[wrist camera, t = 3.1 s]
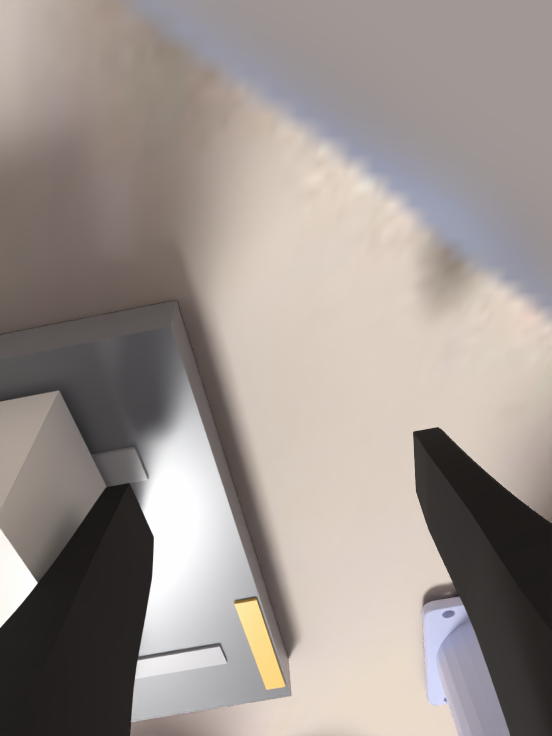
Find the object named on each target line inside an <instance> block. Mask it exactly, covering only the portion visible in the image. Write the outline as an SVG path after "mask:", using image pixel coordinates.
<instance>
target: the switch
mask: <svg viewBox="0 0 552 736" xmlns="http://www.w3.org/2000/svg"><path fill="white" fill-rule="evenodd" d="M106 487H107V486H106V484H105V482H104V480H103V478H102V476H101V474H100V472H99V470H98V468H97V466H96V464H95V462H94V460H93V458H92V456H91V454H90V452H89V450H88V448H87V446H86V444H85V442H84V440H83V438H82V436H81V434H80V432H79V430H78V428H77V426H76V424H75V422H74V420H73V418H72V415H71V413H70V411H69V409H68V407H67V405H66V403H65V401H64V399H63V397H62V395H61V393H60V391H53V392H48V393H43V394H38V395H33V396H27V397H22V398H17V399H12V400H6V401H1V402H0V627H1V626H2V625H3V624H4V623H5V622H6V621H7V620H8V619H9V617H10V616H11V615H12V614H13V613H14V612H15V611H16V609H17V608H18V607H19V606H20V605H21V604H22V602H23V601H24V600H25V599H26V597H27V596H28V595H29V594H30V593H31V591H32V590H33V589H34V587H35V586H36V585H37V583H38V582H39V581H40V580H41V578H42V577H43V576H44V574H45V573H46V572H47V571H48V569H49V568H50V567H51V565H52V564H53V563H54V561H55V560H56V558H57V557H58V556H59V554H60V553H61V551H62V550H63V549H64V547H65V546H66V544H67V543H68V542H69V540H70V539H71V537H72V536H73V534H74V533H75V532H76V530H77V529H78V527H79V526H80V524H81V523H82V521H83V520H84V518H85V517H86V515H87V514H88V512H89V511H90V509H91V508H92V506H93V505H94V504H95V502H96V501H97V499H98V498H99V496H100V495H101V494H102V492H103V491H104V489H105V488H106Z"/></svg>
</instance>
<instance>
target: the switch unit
mask: <svg viewBox="0 0 552 736" xmlns="http://www.w3.org/2000/svg"><path fill="white" fill-rule="evenodd" d="M53 391H60V393H61V395H62V397H63V399H64V401H65V403H66V405H67V407H68V409H69V411H70V413H71V415H72V418H73V420H74V422H75V424H76V426H77V428H78V430H79V432H80V434H81V436H82V438H83V440H84V442H85V444H86V446H87V448H88V450H89V452H90V454H91V456H92V458H93V460H94V462H95V464H96V466H97V468H98V470H99V472H100V474H101V476H102V478H103V480H104V482H105V484H106V486H107V487H109V486H115V485H121V484H126V483H130V485H131V487H132V489H133V491H134V494H135V496H136V498H137V500H138V503H139V505H140V507H141V509H142V511H143V514H144V516H145V518H146V520H147V522H148V525H149V527H150V529H151V531H152V533H153V536H154V556H153V574H152V582H151V588H150V594H149V600H148V605H147V611H146V617H145V622H144V628H143V633H142V639H141V645H140V650H139V656H138V662H137V667H136V675H135V682H134V691H133V703H132V716H131V722H136V721H142V720H148V719H154V718H160V717H166V716H172V715H178V714H184V713H191V712H197V711H203V710H209V709H215V708H221V707H227V706H233V705H239V704H245V703H251V702H257V701H263V700H269V699H275V698H281V697H287V696H292V695H291V683H290V672H289V660H288V657H287V654H286V651H285V648H284V644H283V641H282V638H281V635H280V631H279V628H278V625H277V622H276V619H275V615H274V612H273V609H272V606H271V603H270V599H269V596H268V593H267V590H266V586H265V583H264V580H263V577H262V574H261V570H260V567H259V564H258V561H257V557H256V554H255V551H254V548H253V545H252V541H251V538H250V535H249V532H248V529H247V525H246V522H245V519H244V516H243V512H242V509H241V506H240V503H239V500H238V496H237V493H236V490H235V487H234V483H233V480H232V477H231V474H230V471H229V467H228V464H227V461H226V458H225V455H224V451H223V448H222V445H221V442H220V438H219V435H218V432H217V429H216V426H215V422H214V419H213V416H212V413H211V409H210V406H209V403H208V400H207V397H206V393H205V390H204V387H203V384H202V381H201V377H200V374H199V371H198V368H197V364H196V361H195V358H194V355H193V352H192V348H191V345H190V342H189V339H188V335H187V332H186V329H185V326H184V323H183V319H182V316H181V313H180V310H179V307H178V303H177V300H174V301H169V302H164V303H159V304H154V305H149V306H144V307H139V308H134V309H129V310H123V311H118V312H113V313H108V314H103V315H98V316H93V317H88V318H83V319H78V320H73V321H67V322H62V323H57V324H52V325H47V326H42V327H37V328H32V329H27V330H22V331H16V332H11V333H6V334H1V335H0V402H1V401H6V400H12V399H17V398H22V397H27V396H33V395H38V394H43V393H48V392H53Z"/></svg>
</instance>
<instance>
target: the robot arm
mask: <svg viewBox="0 0 552 736" xmlns="http://www.w3.org/2000/svg"><path fill="white" fill-rule="evenodd" d="M413 438H414V460H415V481H416V493H417V496H418V499H419V502H420V505H421V508H422V511H423V514H424V517H425V520H426V523H427V526H428V529H429V531H430V534H431V536H432V538H433V540H434V542H435V545H436V547H437V549H438V551H439V553H440V556H441V558H442V560H443V562H444V564H445V566H446V569H447V571H448V573H449V575H450V577H451V579H452V582H453V584H454V586H455V588H456V590H457V592H458V595H459V597H453V598H447V599H441V600H435V601H431V602H428V603H426V604H425V605H424V606H423V607H422V626H423V645H424V664H425V682H426V696H427V699H428V702H429V703H430V704H431V705H444V704H448V705H449V709H450V712H451V715H452V718H453V721H454V724H455V727H456V730H457V734H458V736H552V523H550V522H549V521H547V520H546V519H544V518H543V517H542V516H540V515H539V514H538V513H536V512H535V511H533V510H532V509H531V508H530V507H528V506H527V505H526V504H524V503H523V502H522V501H520V500H519V499H518V498H517V497H515V496H514V495H513V494H512V493H510V492H509V491H508V490H507V489H506V488H504V487H503V486H502V485H501V484H500V483H498V482H497V481H496V480H495V479H494V478H493V477H491V476H490V475H489V474H488V473H487V472H486V471H484V470H483V469H482V468H481V467H480V466H479V465H478V464H477V463H476V462H475V461H473V460H472V459H471V458H470V457H469V456H468V455H467V454H466V453H465V452H464V451H463V450H462V449H461V448H460V447H459V446H458V445H457V444H456V443H455V442H454V441H453V440H452V439H451V438H450V437H449V436H448V435H447V434H446V433H445V432H444V431H443V430H441V429H440V428H438V427H437V428H431V429H425V430H420V431H414V432H413ZM153 556H154V536H153V533H152V531H151V529H150V527H149V525H148V522H147V520H146V518H145V516H144V514H143V511H142V509H141V507H140V505H139V503H138V500H137V498H136V496H135V494H134V491H133V489H132V487H131V485H130V483H126V484H121V485H115V486H109V487H106V488H105V489H104V491H103V492H102V494H101V495H100V496H99V498H98V499H97V501H96V502H95V504H94V505H93V506H92V508H91V509H90V511H89V512H88V514H87V515H86V517H85V518H84V520H83V521H82V523H81V524H80V526H79V527H78V529H77V530H76V532H75V533H74V534H73V536H72V537H71V539H70V540H69V542H68V543H67V544H66V546H65V547H64V549H63V550H62V551H61V553H60V554H59V556H58V557H57V558H56V560H55V561H54V563H53V564H52V565H51V567H50V568H49V569H48V571H47V572H46V573H45V574H44V576H43V577H42V578H41V580H40V581H39V582H38V583H37V585H36V586H35V587H34V589H33V590H32V591H31V593H30V594H29V595H28V596H27V597H26V599H25V600H24V601H23V602H22V604H21V605H20V606H19V607H18V608H17V609H16V611H15V612H14V613H13V614H12V615H11V616H10V617H9V619H8V620H7V621H6V622H5V623H4V624H3V625H2V626H1V627H0V736H130V729H131V716H132V703H133V691H134V682H135V675H136V667H137V662H138V656H139V650H140V645H141V639H142V633H143V628H144V622H145V617H146V611H147V605H148V600H149V594H150V588H151V582H152V574H153Z"/></svg>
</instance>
